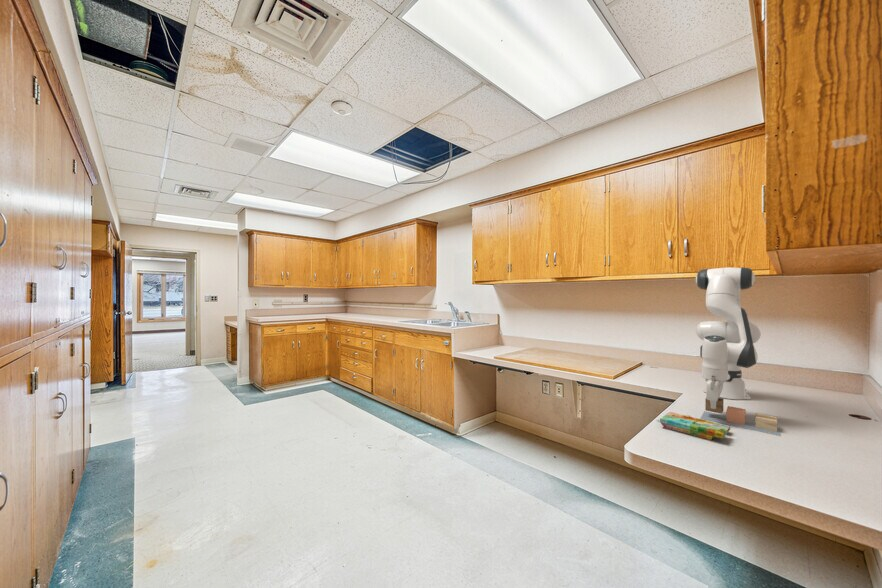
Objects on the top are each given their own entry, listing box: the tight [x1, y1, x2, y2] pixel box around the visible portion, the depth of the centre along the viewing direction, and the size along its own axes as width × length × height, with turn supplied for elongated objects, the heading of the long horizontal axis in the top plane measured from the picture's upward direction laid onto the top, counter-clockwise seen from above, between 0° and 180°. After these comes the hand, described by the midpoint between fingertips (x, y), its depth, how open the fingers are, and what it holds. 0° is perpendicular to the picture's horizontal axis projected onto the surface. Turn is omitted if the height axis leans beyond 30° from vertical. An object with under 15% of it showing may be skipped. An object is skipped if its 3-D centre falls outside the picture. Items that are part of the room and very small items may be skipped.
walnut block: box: [704, 397, 724, 415], centre depth 145 cm, size 6×6×5 cm
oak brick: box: [755, 413, 778, 432], centre depth 133 cm, size 6×6×4 cm
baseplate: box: [699, 410, 782, 437], centre depth 138 cm, size 13×24×1 cm, turn 46°
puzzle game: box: [659, 411, 731, 441], centre depth 132 cm, size 12×5×20 cm
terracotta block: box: [726, 405, 746, 425], centre depth 140 cm, size 6×6×5 cm
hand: (714, 406), depth 145 cm, fingers closed on walnut block, 5 cm apart
